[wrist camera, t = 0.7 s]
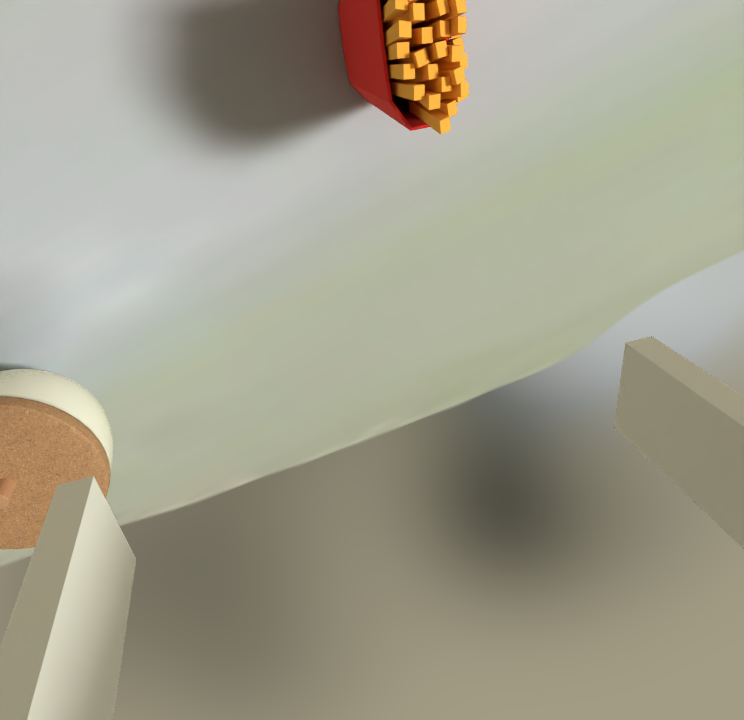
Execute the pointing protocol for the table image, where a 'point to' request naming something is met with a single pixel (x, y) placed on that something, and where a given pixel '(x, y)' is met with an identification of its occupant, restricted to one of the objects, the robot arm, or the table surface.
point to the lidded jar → (45, 448)
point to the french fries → (407, 57)
